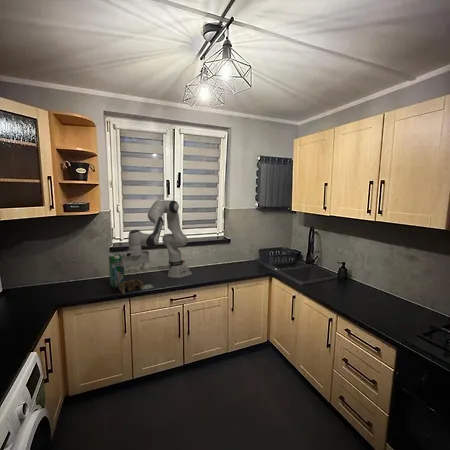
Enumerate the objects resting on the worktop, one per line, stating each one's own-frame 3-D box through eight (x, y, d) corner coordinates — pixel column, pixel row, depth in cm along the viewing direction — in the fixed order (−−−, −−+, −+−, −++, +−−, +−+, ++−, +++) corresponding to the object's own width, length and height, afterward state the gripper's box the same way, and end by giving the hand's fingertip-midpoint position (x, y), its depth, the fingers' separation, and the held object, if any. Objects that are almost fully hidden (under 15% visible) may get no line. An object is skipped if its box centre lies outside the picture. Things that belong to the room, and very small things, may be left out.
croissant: (137, 285, 211) (137, 278, 210) (142, 289, 201) (142, 282, 201) (118, 289, 202) (118, 282, 201) (123, 293, 192) (123, 286, 192)
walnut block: (133, 287, 205) (132, 280, 204) (135, 289, 201) (134, 282, 200) (126, 289, 202) (126, 282, 201) (128, 291, 198) (128, 283, 197)
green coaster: (149, 284, 212) (149, 284, 212) (153, 287, 206) (153, 286, 206) (140, 286, 207) (140, 286, 207) (144, 289, 201) (144, 289, 201)
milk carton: (113, 287, 205) (111, 257, 202) (110, 284, 212) (108, 255, 209) (124, 285, 211) (123, 255, 208) (121, 282, 218) (120, 253, 215)
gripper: (147, 249, 196) (147, 267, 197) (119, 253, 183) (120, 272, 185) (150, 251, 191) (151, 269, 192) (122, 254, 178) (123, 274, 180)
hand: (135, 270), depth 188 cm, fingers open, 8 cm apart
